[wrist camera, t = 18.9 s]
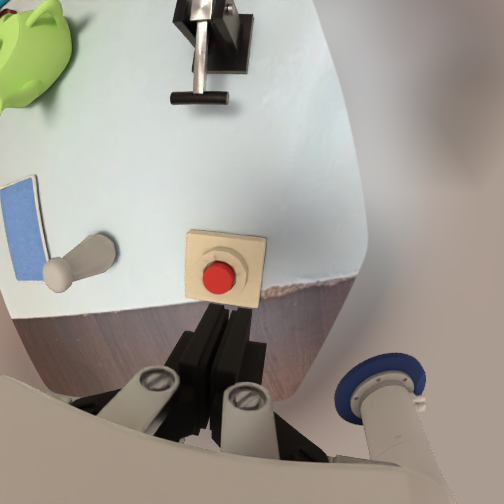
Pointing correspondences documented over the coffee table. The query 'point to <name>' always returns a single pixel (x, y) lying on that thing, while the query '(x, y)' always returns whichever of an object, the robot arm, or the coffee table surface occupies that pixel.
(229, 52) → the switch bracket
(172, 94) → the lever
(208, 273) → the stop button
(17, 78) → the teapot
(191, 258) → the control box
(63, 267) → the salt shaker
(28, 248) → the tablet
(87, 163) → the coffee table surface
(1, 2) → the gaming console
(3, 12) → the canned food
